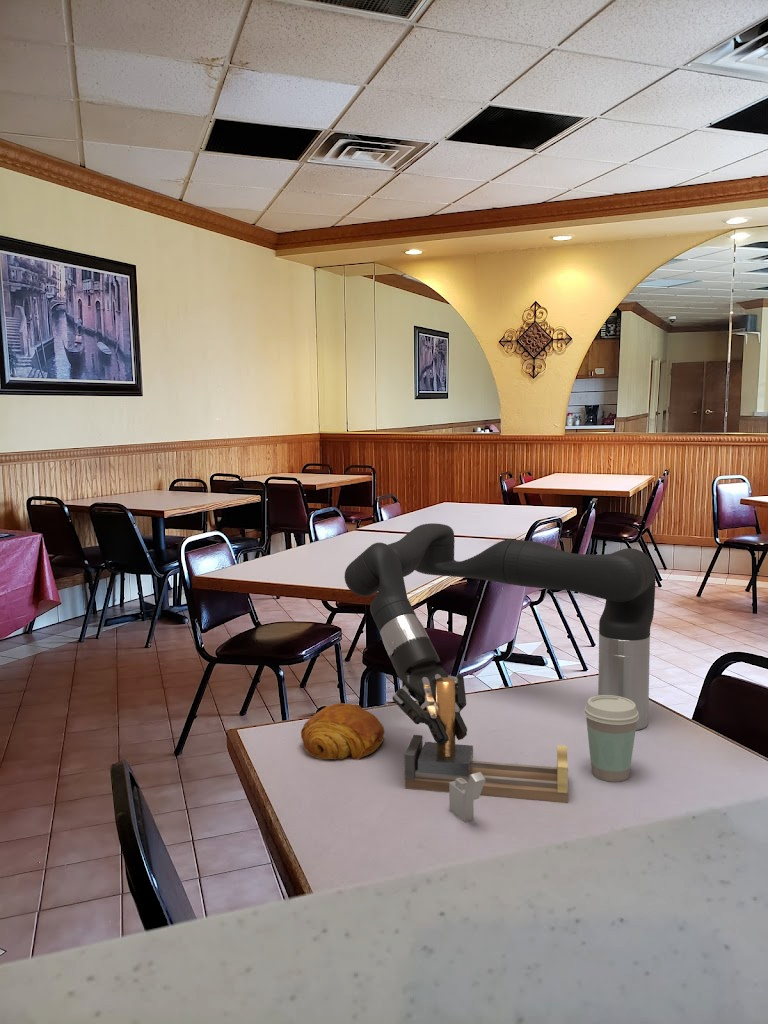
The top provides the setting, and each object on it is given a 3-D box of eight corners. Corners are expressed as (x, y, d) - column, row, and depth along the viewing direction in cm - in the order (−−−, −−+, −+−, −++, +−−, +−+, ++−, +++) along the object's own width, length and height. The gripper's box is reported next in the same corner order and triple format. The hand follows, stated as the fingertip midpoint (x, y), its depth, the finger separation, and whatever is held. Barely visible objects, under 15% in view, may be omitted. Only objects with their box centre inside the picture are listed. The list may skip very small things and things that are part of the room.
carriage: (425, 753, 125) (424, 672, 124) (473, 757, 123) (472, 674, 122) (417, 772, 118) (416, 686, 117) (468, 776, 117) (468, 689, 115)
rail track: (413, 766, 126) (413, 734, 126) (566, 778, 121) (566, 745, 120) (405, 788, 118) (404, 754, 118) (567, 802, 113) (567, 767, 112)
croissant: (289, 765, 133) (283, 724, 131) (335, 722, 146) (330, 685, 144) (359, 780, 126) (354, 737, 124) (401, 734, 139) (396, 694, 137)
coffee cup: (638, 766, 125) (639, 696, 124) (637, 789, 117) (639, 715, 116) (585, 759, 128) (586, 691, 126) (581, 782, 120) (582, 709, 118)
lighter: (448, 809, 112) (448, 758, 111) (458, 807, 112) (458, 755, 112) (476, 831, 105) (475, 777, 104) (486, 828, 106) (486, 774, 105)
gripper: (433, 651, 134) (477, 740, 125) (366, 665, 126) (407, 761, 117) (451, 628, 129) (498, 719, 120) (382, 642, 121) (427, 740, 112)
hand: (453, 739), depth 119 cm, fingers closed on carriage, 3 cm apart
